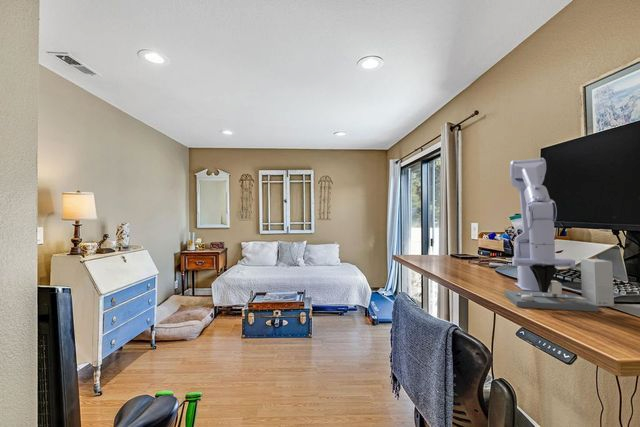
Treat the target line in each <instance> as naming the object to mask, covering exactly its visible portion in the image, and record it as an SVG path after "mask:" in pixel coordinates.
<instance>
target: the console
mask: <svg viewBox="0 0 640 427" xmlns="http://www.w3.org/2000/svg"><path fill="white" fill-rule="evenodd" d="M503 292H504V293H503V294H504V296H505V297H506V298H507V299H508V300H509V301H510V303H512V304H513V305H514V306H516V307H517V308H528V309H529V308H531V309H545V310H546V309H550V310H562V311H563V310H566V311H567V310H568V311H583V312H584V311H585V312H600V311H599V310H600V308H599V307H600V306H598V305H596V304H594V303H592V302H590V301H588V299H587V298H583V297H582V295H578V294H577V293H574V292H562V294H557V297H552V293H550V292H548V293H543V292H541V291H524V290H506V289H505V290H504V291H503Z"/></svg>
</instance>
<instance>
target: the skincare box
mask: <svg viewBox="0 0 640 427" xmlns="http://www.w3.org/2000/svg"><path fill="white" fill-rule="evenodd" d="M613 270H614V269H613V262H612V261H611V260H605V259H599V258H580V278H581V282H580V284H581V297H583V298H587V299H588V301H590V302H592V303H594V304H596V305H598V306H599V307H615V300H614V298H615V297H614V296H615V295H614V277H613V276H614V274H613V273H614V272H613Z"/></svg>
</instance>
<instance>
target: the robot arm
mask: <svg viewBox="0 0 640 427" xmlns="http://www.w3.org/2000/svg"><path fill="white" fill-rule="evenodd" d="M546 173H547V161H546V159H545V158H544V157H540V158H529V159H520V160H518V159H517V160H514V159H513V160H511V161H510V162H509V176H510V183H511V186H512V187H514V188H516V189H517V191H518V194H519V201H520V202H519V203H520V204H519V205H520V215H521V216H520V217H521V226H522V232H521V233H520V234H517V235H516V236H515V238H514V240H513V256H514V258H512V259H511V261H512V262H511V263H512V264H511V265H512V266H514V267H516V269H517V282H514V285H515V286H517V287H518V288H520V289H521V291H531V292H543V293H548V289H549V285H550V282H551V281H553V279H554V276H555V275H556V274H557V272H558V268H557V267H560V268H561V267H563V268H564V267H565V268H567V267H569V268H576V260H575V259H570V258H556V247H555V246H556V244H555V243H556V242H555V222H556V220H557V215H558V213H557V212H558V211H557V205H556V202H555V200H553V199H551V198H550V195H549V191H548V189H547V187H546V186H545V185H543V183H544V180H545V176H546Z"/></svg>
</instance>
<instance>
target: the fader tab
mask: <svg viewBox="0 0 640 427" xmlns="http://www.w3.org/2000/svg"><path fill="white" fill-rule="evenodd" d="M562 290H563V288H562V283H561V282H559V281H557V280H551V282H550V285H549V289H548V292H550V293H552V297H557V294H562V293H563V292H562Z"/></svg>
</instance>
